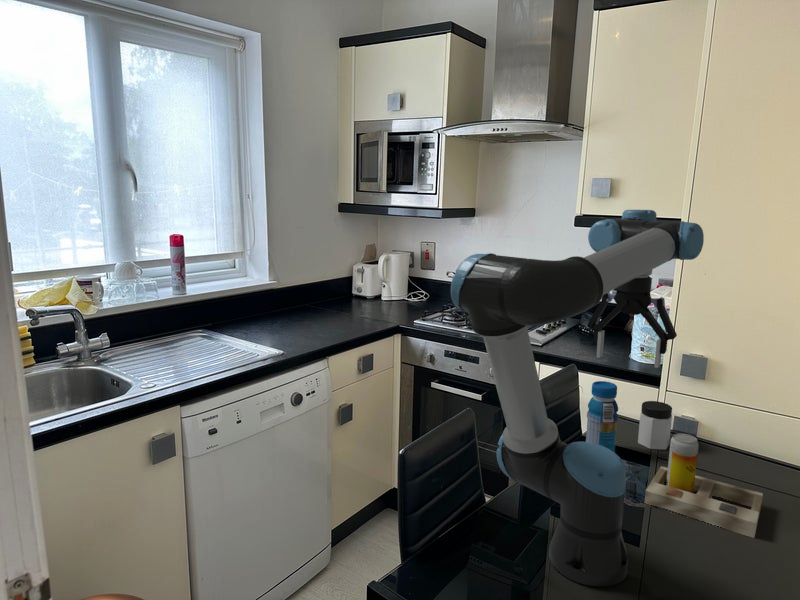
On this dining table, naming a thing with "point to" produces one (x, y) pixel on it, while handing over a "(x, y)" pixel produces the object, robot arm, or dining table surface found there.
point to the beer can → (682, 462)
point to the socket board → (708, 502)
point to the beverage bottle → (602, 415)
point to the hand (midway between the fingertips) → (627, 361)
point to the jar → (655, 425)
